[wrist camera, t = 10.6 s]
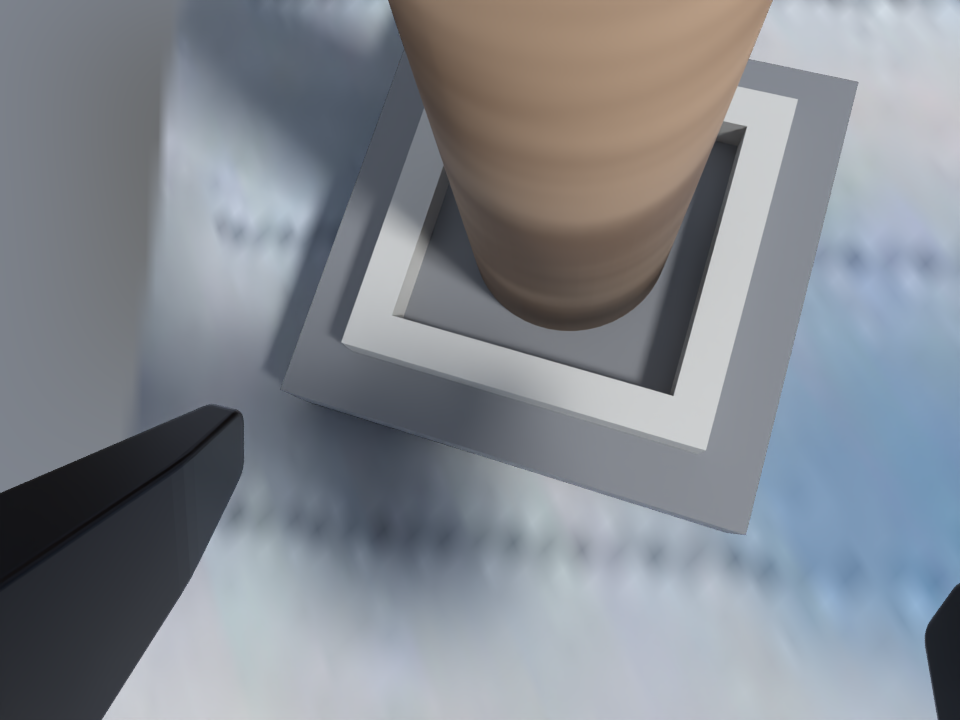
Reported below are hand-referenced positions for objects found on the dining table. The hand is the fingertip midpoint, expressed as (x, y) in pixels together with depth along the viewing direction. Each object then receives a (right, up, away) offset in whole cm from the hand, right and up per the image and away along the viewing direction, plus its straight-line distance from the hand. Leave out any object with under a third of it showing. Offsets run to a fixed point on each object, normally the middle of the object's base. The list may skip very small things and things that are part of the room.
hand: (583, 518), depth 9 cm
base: (+1, +5, +12) cm, 13 cm away
